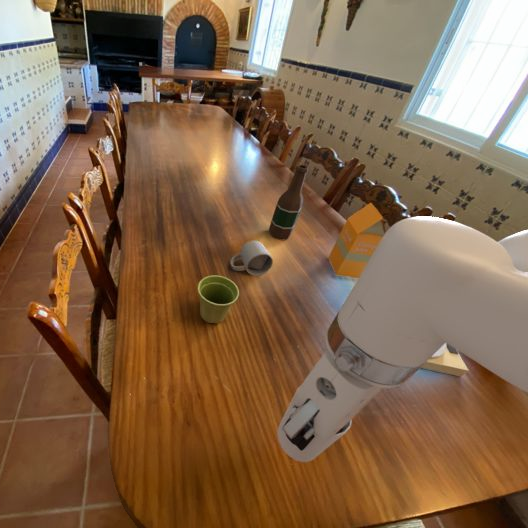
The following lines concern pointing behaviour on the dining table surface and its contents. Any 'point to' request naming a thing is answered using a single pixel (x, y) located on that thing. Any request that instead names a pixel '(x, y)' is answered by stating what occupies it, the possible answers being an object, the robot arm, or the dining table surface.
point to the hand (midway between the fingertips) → (309, 424)
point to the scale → (446, 362)
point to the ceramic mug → (253, 258)
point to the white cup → (313, 447)
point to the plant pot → (216, 297)
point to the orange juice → (357, 242)
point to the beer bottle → (288, 206)
